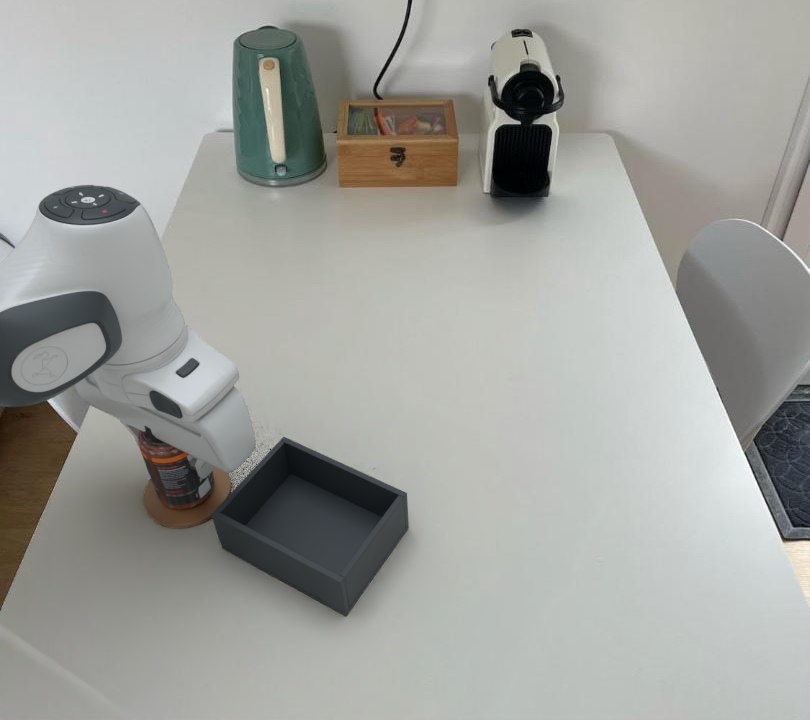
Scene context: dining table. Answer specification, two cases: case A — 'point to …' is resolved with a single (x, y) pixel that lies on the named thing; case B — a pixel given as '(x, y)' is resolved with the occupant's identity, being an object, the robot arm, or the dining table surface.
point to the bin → (313, 523)
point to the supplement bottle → (173, 473)
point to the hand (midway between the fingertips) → (176, 457)
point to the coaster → (190, 515)
